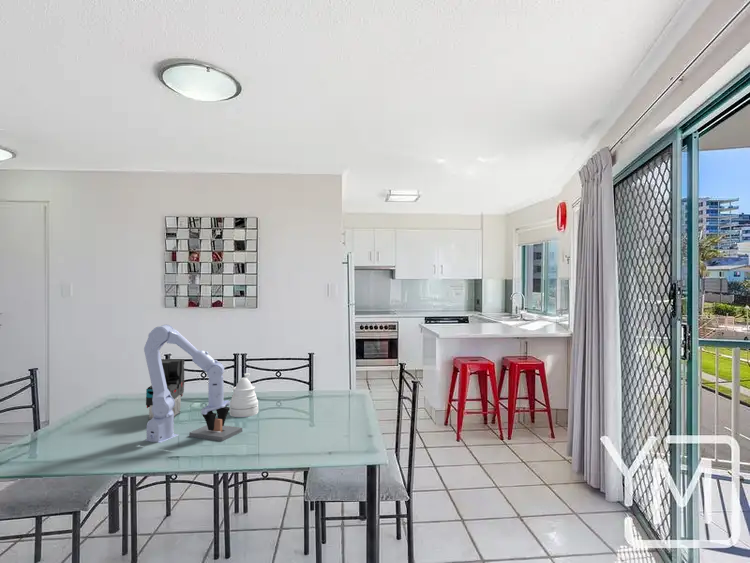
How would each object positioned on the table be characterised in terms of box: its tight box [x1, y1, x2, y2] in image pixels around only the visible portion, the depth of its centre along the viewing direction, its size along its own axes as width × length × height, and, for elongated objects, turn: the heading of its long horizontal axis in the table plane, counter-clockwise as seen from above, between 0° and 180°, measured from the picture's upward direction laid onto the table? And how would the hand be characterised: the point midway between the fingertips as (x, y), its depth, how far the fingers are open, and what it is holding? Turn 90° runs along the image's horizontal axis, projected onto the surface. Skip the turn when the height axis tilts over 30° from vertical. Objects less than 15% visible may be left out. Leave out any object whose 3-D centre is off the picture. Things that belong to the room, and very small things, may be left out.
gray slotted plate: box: [188, 424, 243, 442], centre depth 184 cm, size 12×16×2 cm
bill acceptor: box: [145, 358, 185, 421], centre depth 208 cm, size 10×23×25 cm, turn 8°
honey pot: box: [229, 372, 259, 418], centre depth 215 cm, size 13×13×18 cm
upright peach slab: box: [213, 417, 222, 432], centre depth 184 cm, size 1×5×6 cm, turn 69°
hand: (216, 427), depth 184 cm, fingers open, 5 cm apart
